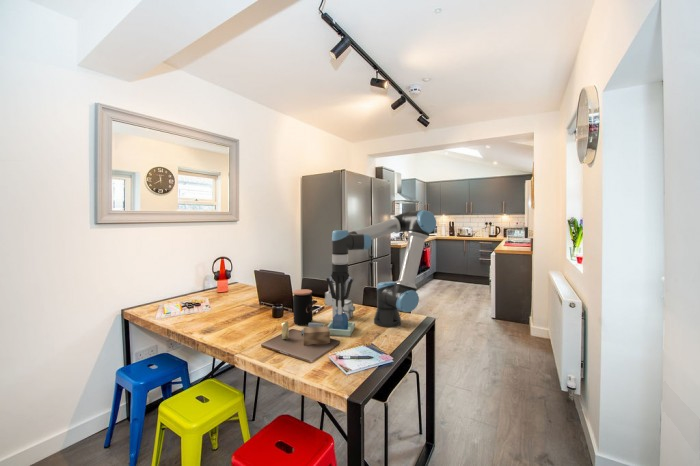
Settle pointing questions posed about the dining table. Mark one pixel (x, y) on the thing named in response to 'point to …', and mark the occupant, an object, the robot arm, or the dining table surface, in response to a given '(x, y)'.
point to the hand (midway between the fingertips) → (340, 313)
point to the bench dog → (285, 330)
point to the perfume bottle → (340, 321)
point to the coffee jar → (302, 307)
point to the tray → (341, 332)
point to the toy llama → (332, 302)
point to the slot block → (313, 326)
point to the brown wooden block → (316, 335)
